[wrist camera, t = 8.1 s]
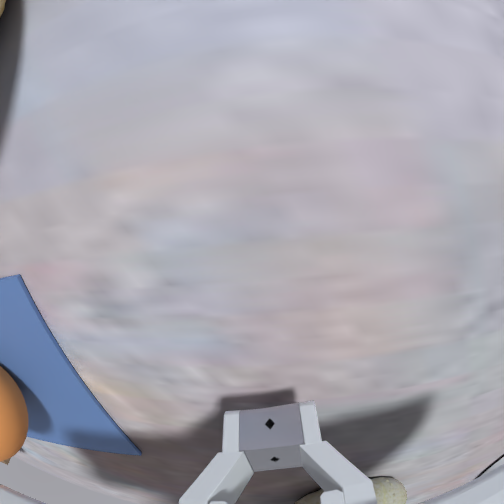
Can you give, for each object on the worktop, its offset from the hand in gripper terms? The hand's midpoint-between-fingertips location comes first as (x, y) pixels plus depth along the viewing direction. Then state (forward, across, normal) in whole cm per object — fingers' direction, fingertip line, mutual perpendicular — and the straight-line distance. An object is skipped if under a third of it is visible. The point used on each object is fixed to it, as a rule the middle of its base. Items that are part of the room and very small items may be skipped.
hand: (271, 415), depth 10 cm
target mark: (+2, -14, 0) cm, 14 cm away
